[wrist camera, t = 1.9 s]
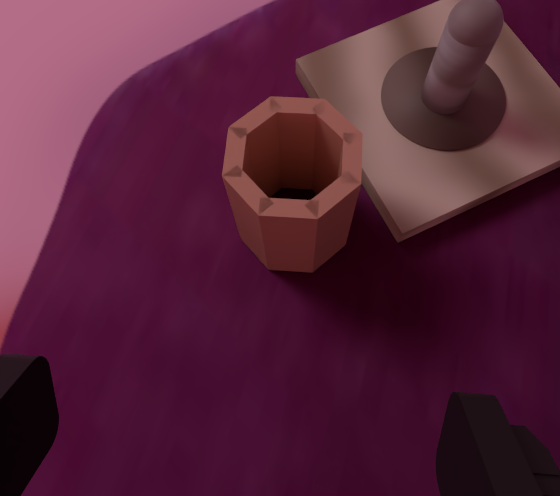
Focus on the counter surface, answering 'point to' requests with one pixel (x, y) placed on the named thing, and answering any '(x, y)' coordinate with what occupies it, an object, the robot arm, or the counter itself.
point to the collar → (293, 180)
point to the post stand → (440, 110)
